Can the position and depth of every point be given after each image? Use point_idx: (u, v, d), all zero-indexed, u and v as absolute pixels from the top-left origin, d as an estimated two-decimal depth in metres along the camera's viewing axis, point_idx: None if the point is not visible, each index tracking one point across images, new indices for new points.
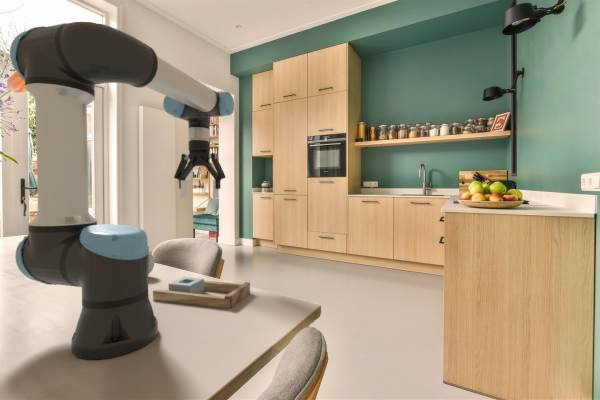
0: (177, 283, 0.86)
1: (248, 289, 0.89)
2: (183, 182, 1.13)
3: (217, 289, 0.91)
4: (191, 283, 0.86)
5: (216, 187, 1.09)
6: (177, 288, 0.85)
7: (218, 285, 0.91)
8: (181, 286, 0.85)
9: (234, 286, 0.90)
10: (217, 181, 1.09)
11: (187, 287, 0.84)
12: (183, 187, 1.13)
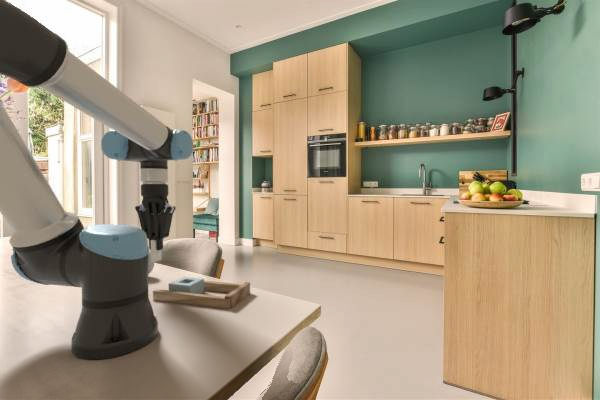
0: (177, 283, 0.86)
1: (248, 289, 0.89)
2: None
3: (217, 289, 0.91)
4: (191, 283, 0.86)
5: (157, 248, 0.91)
6: (177, 288, 0.85)
7: (218, 285, 0.91)
8: (181, 286, 0.85)
9: (234, 286, 0.90)
10: (158, 241, 0.90)
11: (187, 287, 0.84)
12: None
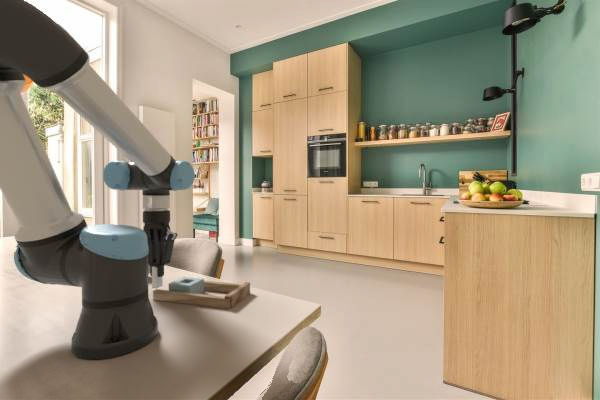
0: (177, 283, 0.86)
1: (248, 289, 0.89)
2: None
3: (217, 289, 0.91)
4: (191, 283, 0.86)
5: (158, 275, 0.90)
6: (177, 288, 0.85)
7: (218, 285, 0.91)
8: (181, 286, 0.85)
9: (234, 286, 0.90)
10: (159, 268, 0.90)
11: (187, 287, 0.84)
12: None
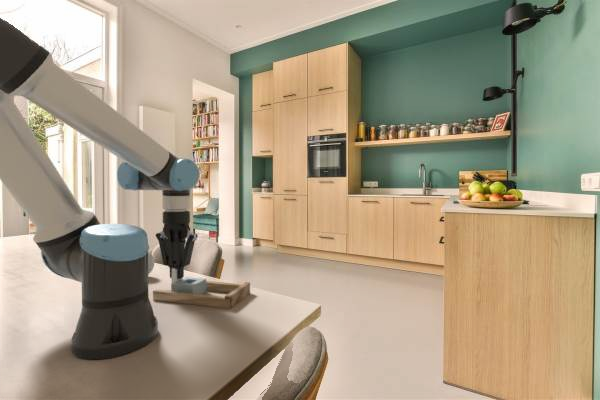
0: (180, 283, 0.86)
1: (248, 289, 0.89)
2: None
3: (217, 289, 0.91)
4: (194, 283, 0.86)
5: (178, 277, 0.88)
6: (180, 288, 0.85)
7: (218, 285, 0.91)
8: (184, 286, 0.85)
9: (234, 286, 0.90)
10: (179, 269, 0.88)
11: (190, 287, 0.84)
12: None
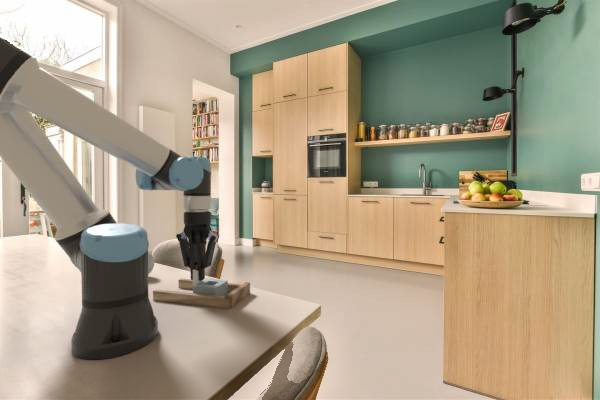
0: (202, 285, 0.84)
1: (248, 289, 0.89)
2: None
3: None
4: (216, 285, 0.85)
5: (199, 278, 0.87)
6: (202, 290, 0.83)
7: None
8: (206, 288, 0.83)
9: (234, 286, 0.90)
10: (200, 271, 0.86)
11: (213, 289, 0.83)
12: None
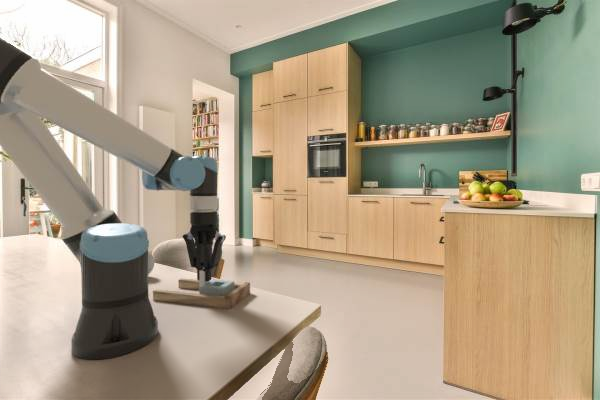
0: (208, 286, 0.84)
1: (248, 289, 0.89)
2: None
3: None
4: (223, 286, 0.84)
5: (206, 279, 0.86)
6: (209, 291, 0.83)
7: None
8: (213, 289, 0.83)
9: (234, 286, 0.90)
10: (207, 272, 0.86)
11: (219, 290, 0.82)
12: None
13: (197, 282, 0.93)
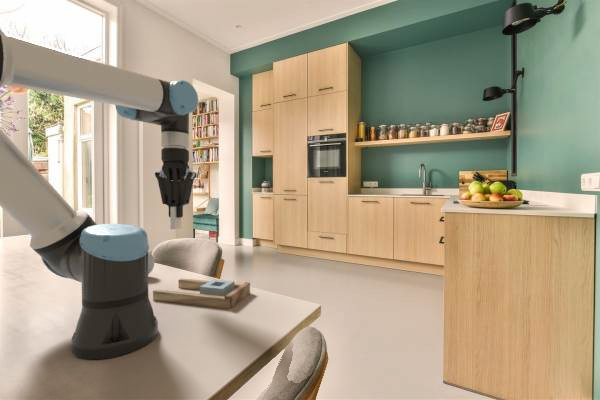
0: (209, 286, 0.84)
1: (248, 289, 0.89)
2: None
3: None
4: (223, 286, 0.84)
5: (177, 215, 0.88)
6: (209, 291, 0.83)
7: None
8: (213, 289, 0.83)
9: (234, 286, 0.90)
10: (178, 208, 0.87)
11: (220, 290, 0.82)
12: None
13: (197, 282, 0.93)
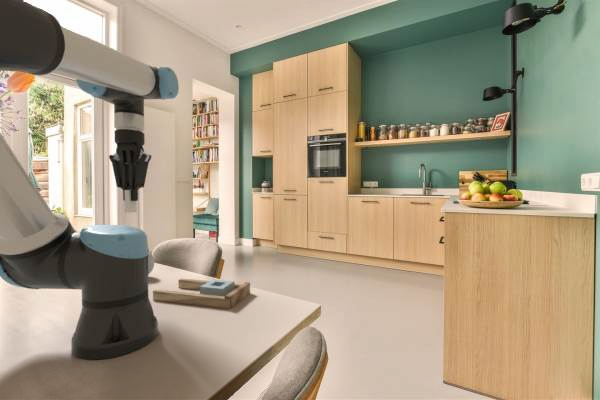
0: (209, 286, 0.84)
1: (248, 289, 0.89)
2: None
3: None
4: (223, 286, 0.84)
5: (131, 199, 0.86)
6: (209, 291, 0.83)
7: None
8: (213, 289, 0.83)
9: (234, 286, 0.90)
10: (132, 191, 0.86)
11: (220, 290, 0.82)
12: None
13: (197, 282, 0.93)
